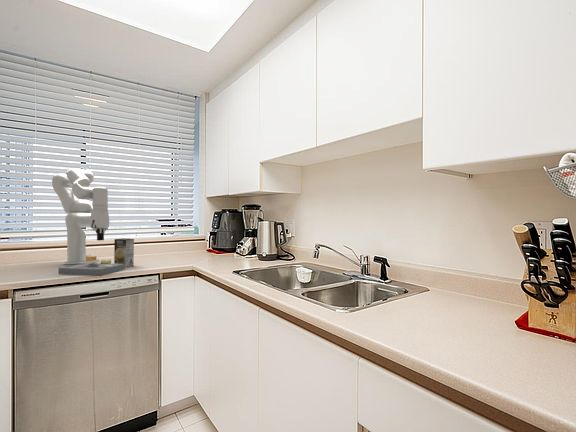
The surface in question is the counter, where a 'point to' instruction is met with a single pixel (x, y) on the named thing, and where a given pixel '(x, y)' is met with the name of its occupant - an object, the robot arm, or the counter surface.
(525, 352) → the counter surface
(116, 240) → the coffee box
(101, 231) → the robot arm
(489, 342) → the counter surface
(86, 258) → the orange slider
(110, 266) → the switch panel
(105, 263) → the brass button
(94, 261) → the plate
